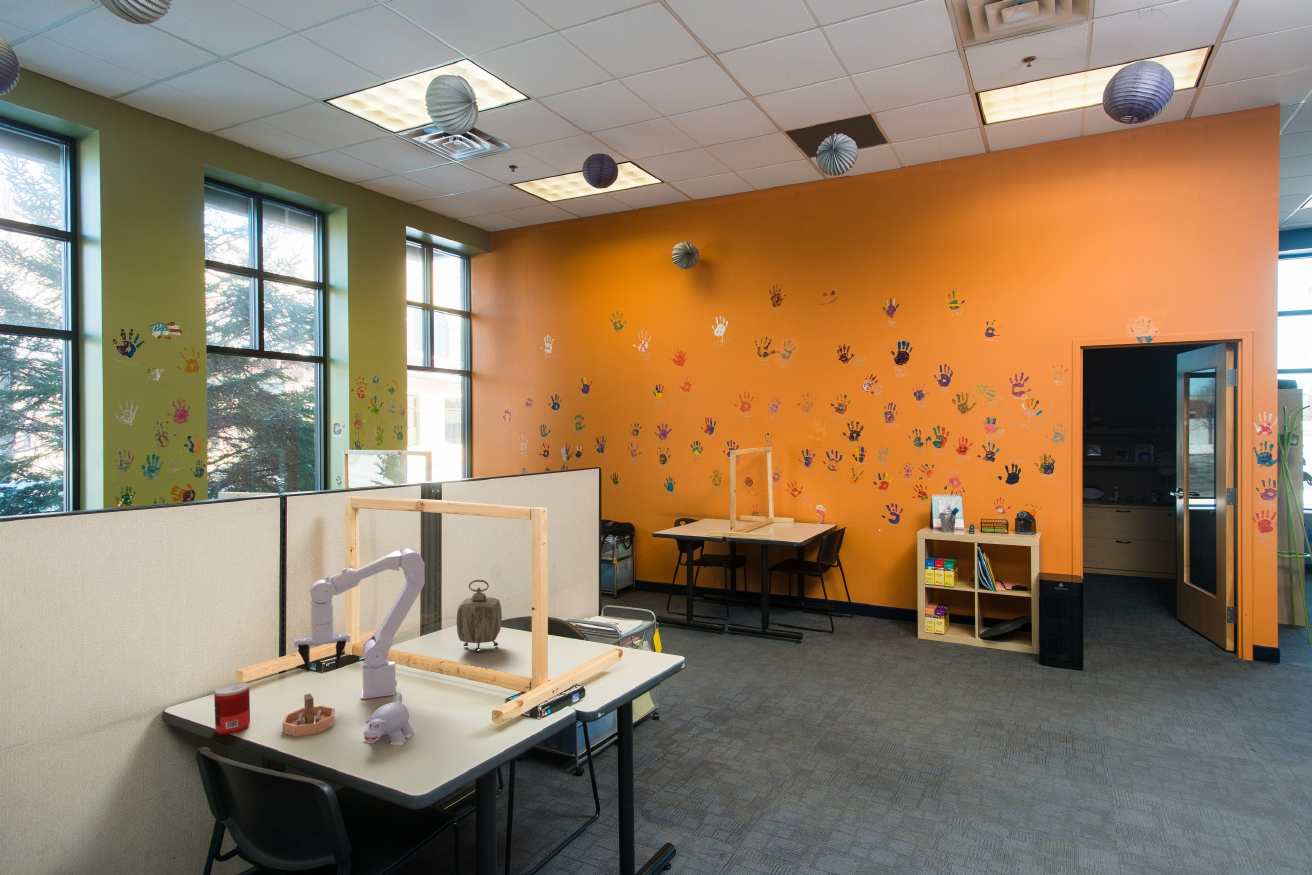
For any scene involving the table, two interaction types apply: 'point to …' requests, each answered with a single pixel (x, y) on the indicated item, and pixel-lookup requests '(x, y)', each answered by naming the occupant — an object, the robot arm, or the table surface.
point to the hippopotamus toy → (389, 723)
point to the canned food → (232, 708)
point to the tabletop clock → (479, 618)
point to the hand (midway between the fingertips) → (323, 668)
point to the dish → (299, 727)
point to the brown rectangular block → (309, 708)
